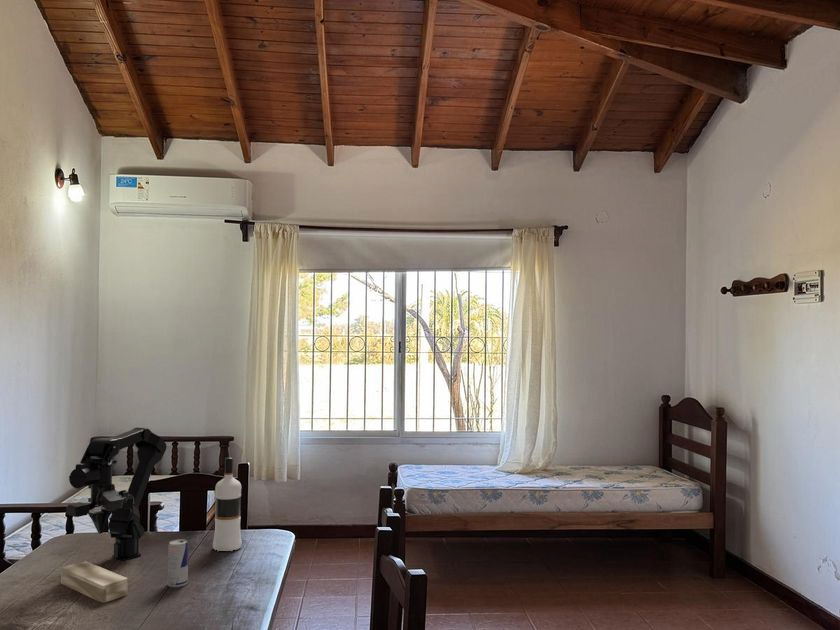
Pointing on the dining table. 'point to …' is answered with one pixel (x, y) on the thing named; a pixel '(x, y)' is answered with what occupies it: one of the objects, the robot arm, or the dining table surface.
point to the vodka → (227, 511)
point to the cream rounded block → (94, 581)
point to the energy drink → (177, 563)
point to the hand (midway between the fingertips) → (100, 533)
